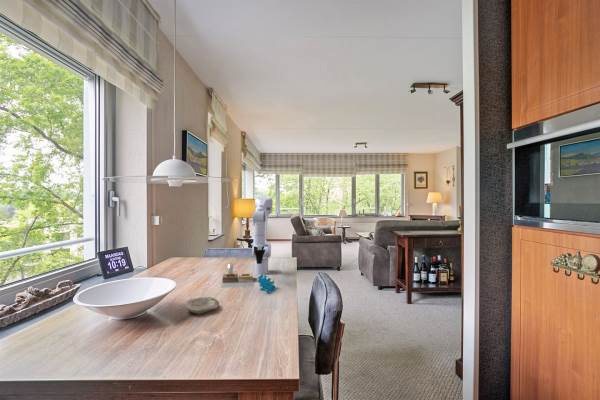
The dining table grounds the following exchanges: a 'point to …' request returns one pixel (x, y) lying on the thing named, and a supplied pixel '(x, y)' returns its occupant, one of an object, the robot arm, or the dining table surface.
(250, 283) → the board
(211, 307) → the fossil
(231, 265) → the pin
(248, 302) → the dining table surface
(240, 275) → the block birch
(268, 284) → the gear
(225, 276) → the block walnut
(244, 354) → the dining table surface
